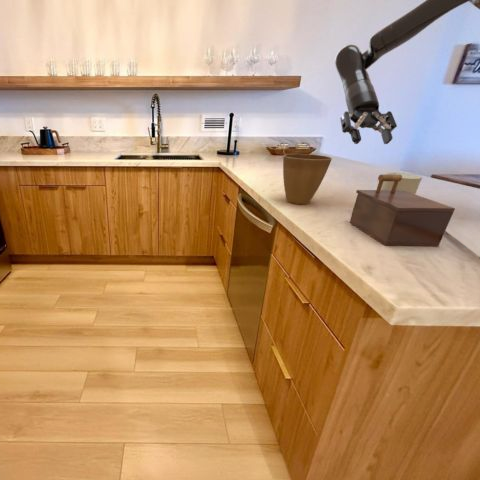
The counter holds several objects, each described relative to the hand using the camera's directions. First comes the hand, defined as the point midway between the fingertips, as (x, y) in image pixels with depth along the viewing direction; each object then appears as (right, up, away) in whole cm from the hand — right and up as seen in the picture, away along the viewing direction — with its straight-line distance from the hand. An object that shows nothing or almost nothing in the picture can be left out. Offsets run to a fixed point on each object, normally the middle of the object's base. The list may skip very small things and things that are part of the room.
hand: (373, 142), depth 83 cm
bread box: (-1, -27, -7) cm, 28 cm away
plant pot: (-12, -15, +20) cm, 28 cm away
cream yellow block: (+14, -19, +11) cm, 26 cm away
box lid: (-1, -19, -10) cm, 21 cm away
